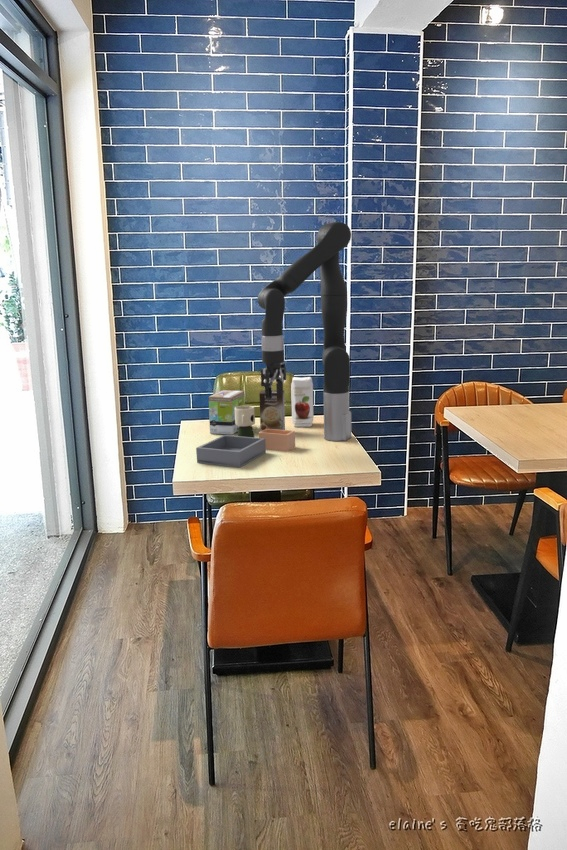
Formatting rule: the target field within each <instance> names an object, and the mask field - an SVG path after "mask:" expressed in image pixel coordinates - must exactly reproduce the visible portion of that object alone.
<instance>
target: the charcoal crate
mask: <svg viewBox="0 0 567 850" xmlns="http://www.w3.org/2000/svg"><path fill="white" fill-rule="evenodd" d="M195 451H196V462H197V464H205V465H215V466H225V467H232V468H233V467H234V468H241V467H243V466H246V465H247V464H248V463H251V462H252V461H254V460H256V459H258V458H259V457H261V456H263V455H264V454H266V453H267V452H266V451H267V449H266V447H265V438H259V437H255V436H254V437H242V436H238V435H232V434H222V435H221V436H218V437H217V438H215V439H213V440H210V441H207V442H206V443H204V444H202V445H199V446H197V447H195Z"/></svg>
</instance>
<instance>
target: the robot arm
mask: <svg viewBox="0 0 567 850" xmlns="http://www.w3.org/2000/svg"><path fill="white" fill-rule="evenodd" d="M317 231H318V232H317V235H316V236H317V237H316V241H317V243H316V245H315V246H314V247H313V248H311V249H309V251H307V252H306V253H305V254H303V255H302V256H300V257H299V258H298V259H296V260H294V262H292V263H291V264H290V265H289V266H288V267H287V268H286V269H285V270H284V271H283V272H281V274H280V275H279V276H278V277H277V278H275V279H274V280H273V281H271V282H270V283H268V284H267V285H266V286H265V287H263V288H262V289H261V291H260V292H259V293H258V295H257V304H258V306H259V307H260V308H261V309H263V310H265V314H264V318H263V319H262V320H261V343H260V344H261V362H262V363H263V364H265V367H264V368H263V367H262V368H261V369H260V385H261V387H263V388H264V390H265V397H266V398H269V399H270V398H272V390H273V388H272V386H273V384H274V383H275V385H276V386H275V387H276V388H275V389H276V390H277V394H283V390H284V383H285V381H287V371H286V370H287V369H286V363H284V362H285V343H284V335H283V333H284V332H283V320H284V314H285V308H286V299H285V297H286V296H287V295H289V294H291V293H294V292H295V291H296V290H297V289H298V288H299V287H300V286H302V284H303V283H304V282H305V281H306V280H307V279H308V278H309V277H310V276H311V275H312V274H313V273H314V272H315V271H316V270H317V269H319V268H320V269H319V271H320V308H321V319H322V320H321V321H322V327H323V346H322V347H323V348H322V354H321V356H322V357H321V361H322V364H323V386H322V389H323V436H324V437H323V438H324V439H325V440H327V441H331V442H336V441H339V442H340V441H344V442H345V441H348V440H350V438H352V411H350V385H351V383H350V382H351V359H350V355H349V353H348V352H347V349H346V342H345V341H346V339H345V327H346V323H347V322H346V321H347V314H348V288H347V284H346V281H345V278H344V276H343V273H342V271H341V267H340V251H342V250H343V249H344V248H346V247H347V246H348V245H349V243H350V241H351V238H352V232H351V231H352V230H351V229H350V226H348V225H347V224H346V223H345V222H341V221H335V222H334V221H333V222H329V223H324V224H322V226H320V228H319V229H318V230H317Z"/></svg>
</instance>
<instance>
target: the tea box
mask: <svg viewBox="0 0 567 850" xmlns="http://www.w3.org/2000/svg"><path fill="white" fill-rule="evenodd" d="M245 395H246V393H245V390H232V389H231V390H229V389H228V390H227V389H226V390H225V389H224V390H220V391H218V392H215V393H214V394H211V395H210V396H208V417H209V420H208V421H209V434H211V435H213V434H214V435H234V434H235V433H238V428H239V426H237V425H236V424H235V407H238V406H246V396H245Z"/></svg>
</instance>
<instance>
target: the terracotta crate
mask: <svg viewBox="0 0 567 850" xmlns="http://www.w3.org/2000/svg"><path fill="white" fill-rule="evenodd" d="M260 431H261V430H260ZM260 431H259V432H258V438H265V447H266V451H267V450H269V451H277V452H278V451H279V452H290V451H292V450H293V449H294V448H296V431H295V430H287V429H285V430H277V429H265V430H263V431H261V432H260Z"/></svg>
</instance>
